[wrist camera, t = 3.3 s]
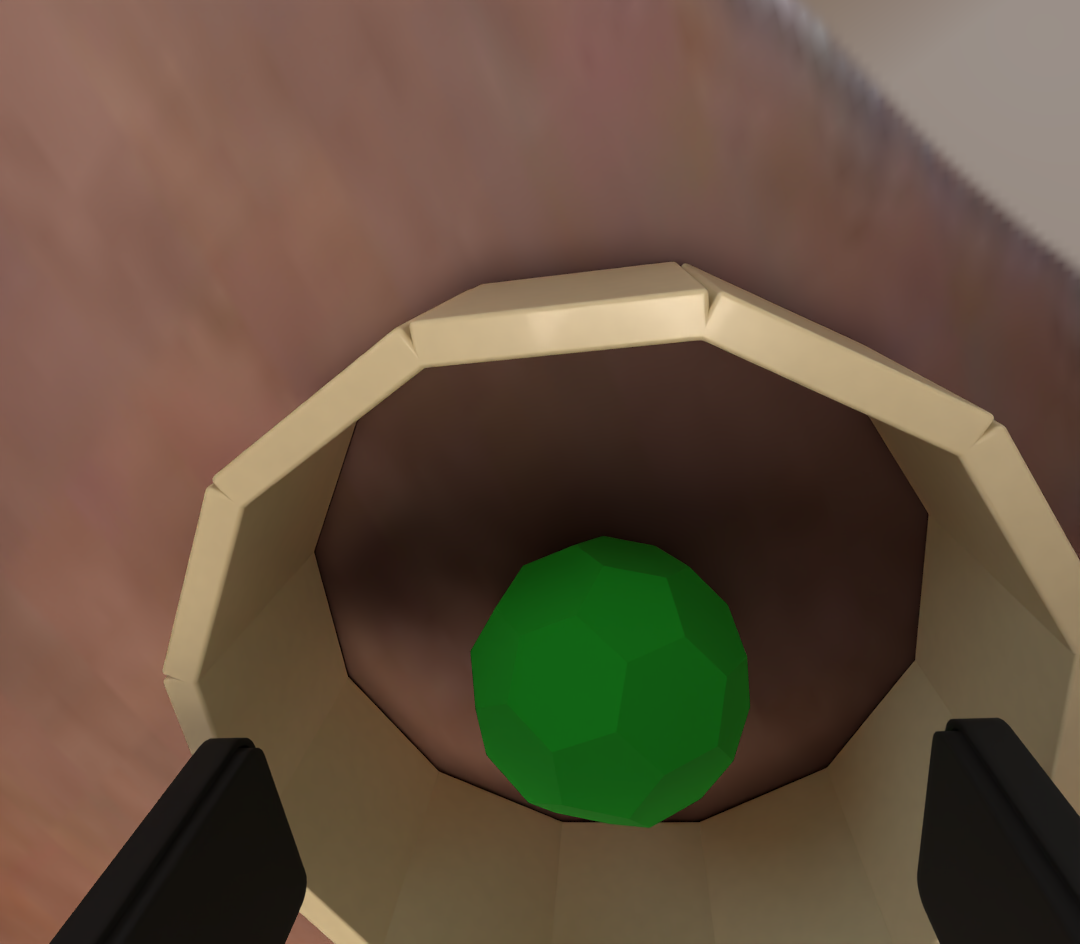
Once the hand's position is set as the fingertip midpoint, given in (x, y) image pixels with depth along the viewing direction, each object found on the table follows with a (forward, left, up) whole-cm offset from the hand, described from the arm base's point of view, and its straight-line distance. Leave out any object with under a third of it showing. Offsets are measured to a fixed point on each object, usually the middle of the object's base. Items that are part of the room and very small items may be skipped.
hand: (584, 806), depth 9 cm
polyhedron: (0, 0, -6) cm, 6 cm away
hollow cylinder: (0, 0, -5) cm, 5 cm away
